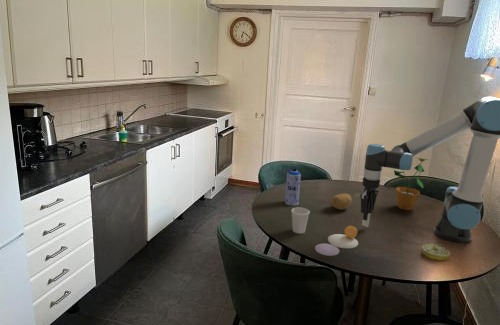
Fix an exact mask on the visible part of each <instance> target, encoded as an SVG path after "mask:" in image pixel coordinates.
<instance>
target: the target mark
mask: <svg viewBox="0 0 500 325" xmlns="http://www.w3.org/2000/svg"><path fill="white" fill-rule="evenodd" d="M327 241H328V244H331V245H334V246H336V247H337V248H339V249H340V248H341V249H353V248H356V247H358V246H359V241H358V240H357V239H356V237H354V238H348V237H347V236H346V235H345V234H343V233H342V234H341V233H337V234H334V233H333V234H331V235H329V236H328V237H327Z"/></svg>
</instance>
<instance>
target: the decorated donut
mask: <svg viewBox="0 0 500 325" xmlns="http://www.w3.org/2000/svg"><path fill="white" fill-rule="evenodd" d="M421 252H422V254H423V256H425V257H426V258H427V259H429V260H432V261H436V262H444V261H447V260H448V259H449V258H450V257H451V252H450V251H449V250H448V249H447V248H445V247H444V246H442V245H439V244H435V243H426V244H423V245H422V248H421Z"/></svg>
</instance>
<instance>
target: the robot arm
mask: <svg viewBox="0 0 500 325" xmlns="http://www.w3.org/2000/svg"><path fill="white" fill-rule="evenodd" d="M469 129H470V132H471V133H472V138H471V140H470V141H471V142H470V144H469V148H468V151H467V153H466V154H467V155H466V158H465V161H464V164H463V169H462V172H461V176H460V179H459V182H458V186H449V187H447V188H446V191H445V198H444V201H443V208H442V213H441V217H440V219H439V220H438V222H437V223H436V225H435V226H434V233H435V234H436V235H437V236H438V237H440V238H442V239H444V240H446V241H450V242H454V241H455V243H469V242H470V241H471V240H472V236H473V234H472V229H473V228H475V227H477V226H478V225H479V224H480V222H481V219H482V218H481V216H482V214H481V210H482V206H483V203H484V198H483V197H482V191H483V188H484V185H485V182H486V178H487V175H488V172H489V169H490V166H491V162H492V159H493V157H494V154H495V151H496V150H495V149H496V148H497V144H498V141H499V139H500V98H498V97H496V96H484V97H483V98H480V99H478V100H476V101H475V102H474V103H472V104H470V105H468V106H467V107H465V108H463V109H461V111H460V113H458V114H457V115H455V116H453V117H451V118H449V119H447V120H445V121H443V122H441V123H440V124H437V125H436V126H434V127H431V128H430V129H428V130H426V131H424V132H423V133H420V134H418V135H416V136H415V137H412V138H411V139H409V140H407V141H405V142H403V143H401V144H397V145H395V146H394V147H393V148H392V149H391V150H387V149H386V146H385V145H383V144H379V143H370V144H368V145H367V147H366V152H365V158H364V159H365V161H364V167H363V168H364V169H363V177H362V183H361V184H362V186H363V187H364V190H363V194H361V193H360V195H359V196H360V212H361V213H363V215H362V220H361V221H362V223H361V226H363V227H366V228H368V227H369V226H370V219H371V214H373V213H374V208H375V205H376V201H377V197H378V194H379V190H378V188H380V183H381V179H382V178H381V177H382V170H383V168H389V169H393V170H394V169H395V170H401V171H411V169H412V164H413V158H414V157H416V156H417V155H419V154H421V153H423V152H425V151H427V150H429V149H431V148H434V147H435V146H437V145H439V144H441V143H443V142H445V141H447V140H449V139H451V138H454V137H456V136H458V135H459V134H462V133H464V132H465V131H468V130H469Z"/></svg>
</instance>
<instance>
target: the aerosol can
mask: <svg viewBox="0 0 500 325" xmlns="http://www.w3.org/2000/svg"><path fill="white" fill-rule="evenodd" d="M301 177H302V175H301V172H300V171H298V170H297V167H292V168H291V169H290V170H289V171H287V173H286V180H285V182H286V183H285V184H286V185H285V194H284V196H285V197H284V203H286V204H285V205H288V206H298V205H299V204H300V203H299V201H300V200H299V199H300V191H301V190H300V188H301V179H302V178H301Z"/></svg>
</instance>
